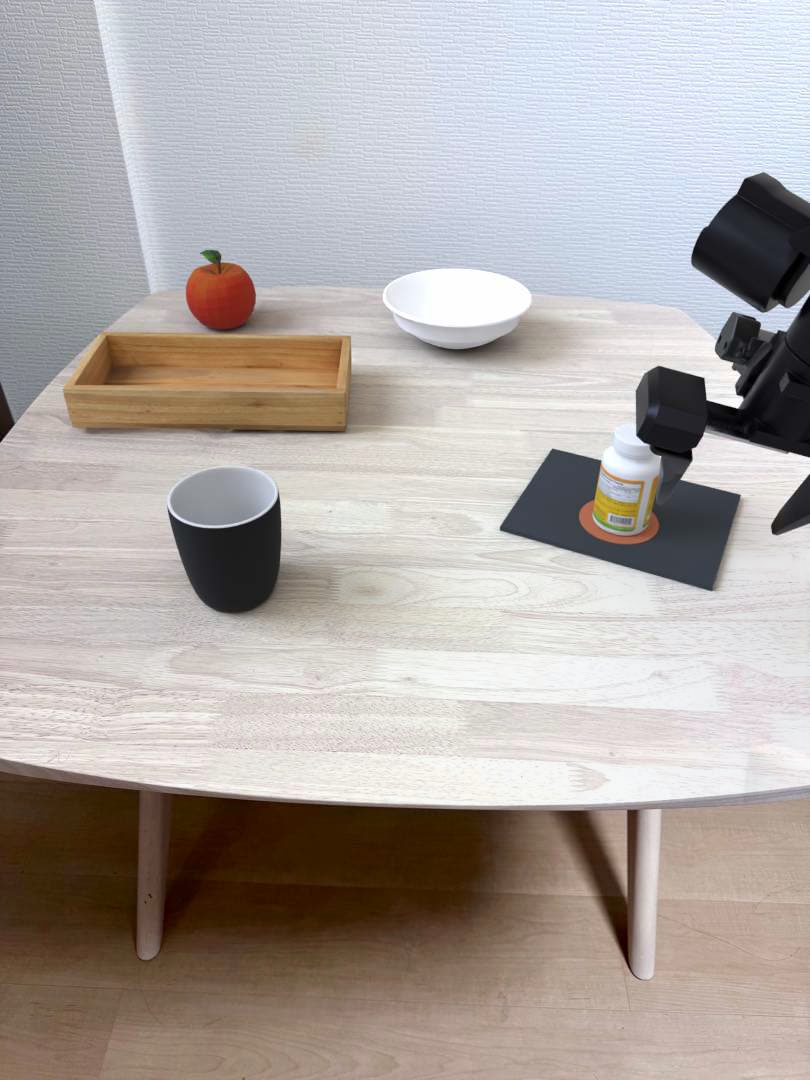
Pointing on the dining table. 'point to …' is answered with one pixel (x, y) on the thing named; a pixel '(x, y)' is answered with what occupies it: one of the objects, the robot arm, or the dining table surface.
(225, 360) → the tray
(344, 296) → the dining table surface
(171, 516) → the mug
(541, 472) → the placemat
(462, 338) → the bowl
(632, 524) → the supplement bottle
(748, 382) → the robot arm
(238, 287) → the fruit
